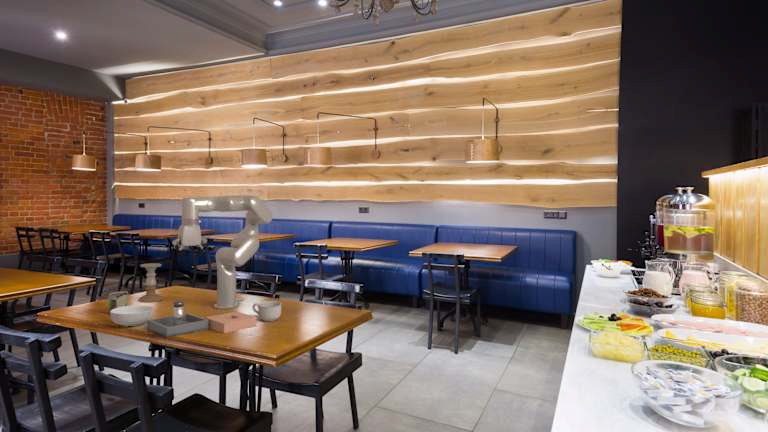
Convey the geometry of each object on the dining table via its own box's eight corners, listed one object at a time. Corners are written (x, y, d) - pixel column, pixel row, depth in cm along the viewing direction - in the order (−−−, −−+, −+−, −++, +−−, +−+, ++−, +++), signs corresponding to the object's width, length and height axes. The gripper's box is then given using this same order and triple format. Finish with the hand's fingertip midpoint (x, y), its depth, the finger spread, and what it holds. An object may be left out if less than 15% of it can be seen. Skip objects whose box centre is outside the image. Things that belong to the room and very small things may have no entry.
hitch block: (236, 319, 212) (236, 311, 212) (256, 325, 202) (256, 317, 202) (204, 326, 200) (204, 317, 200) (224, 333, 190) (224, 323, 190)
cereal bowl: (122, 332, 189) (123, 315, 189) (102, 326, 198) (102, 310, 198) (161, 323, 204) (161, 308, 204) (140, 318, 212) (140, 303, 212)
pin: (180, 325, 198) (180, 300, 197) (185, 326, 195) (185, 301, 195) (171, 326, 195) (171, 301, 194) (176, 328, 192) (176, 303, 192)
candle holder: (133, 301, 246) (133, 265, 246) (148, 297, 259) (148, 262, 258) (153, 303, 244) (153, 266, 244) (167, 298, 257) (168, 263, 256)
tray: (187, 321, 207) (187, 313, 207) (208, 328, 196) (208, 319, 196) (147, 329, 193) (147, 320, 193) (166, 337, 182) (167, 328, 182)
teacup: (285, 318, 217) (285, 301, 216) (273, 323, 206) (273, 306, 206) (261, 315, 221) (261, 299, 221) (247, 320, 211) (247, 304, 211)
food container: (115, 310, 226) (115, 290, 226) (128, 310, 227) (128, 290, 226) (102, 316, 214) (102, 295, 214) (115, 316, 214) (115, 295, 214)
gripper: (202, 221, 228) (202, 255, 229) (168, 222, 215) (168, 258, 215) (210, 222, 224) (210, 256, 224) (176, 223, 210) (176, 259, 211)
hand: (190, 257), depth 220 cm, fingers open, 9 cm apart
